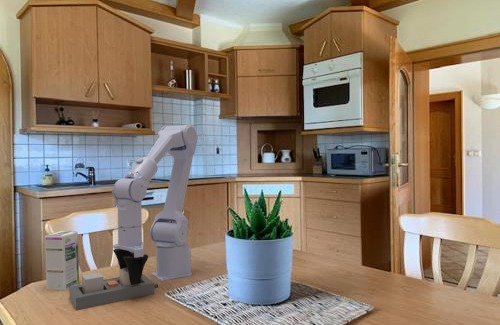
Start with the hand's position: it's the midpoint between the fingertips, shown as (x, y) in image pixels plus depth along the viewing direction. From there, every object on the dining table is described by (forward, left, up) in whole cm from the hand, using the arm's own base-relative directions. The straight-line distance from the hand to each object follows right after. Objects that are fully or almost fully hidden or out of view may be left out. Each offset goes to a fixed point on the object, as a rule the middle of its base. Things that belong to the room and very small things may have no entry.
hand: (130, 279), depth 97 cm
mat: (+2, -10, -3) cm, 11 cm away
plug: (0, 0, -3) cm, 4 cm away
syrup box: (+14, -15, -4) cm, 20 cm away
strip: (+3, 0, -3) cm, 5 cm away
